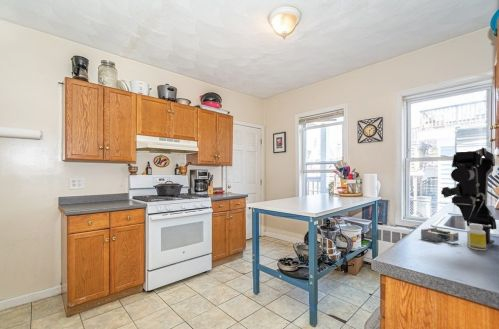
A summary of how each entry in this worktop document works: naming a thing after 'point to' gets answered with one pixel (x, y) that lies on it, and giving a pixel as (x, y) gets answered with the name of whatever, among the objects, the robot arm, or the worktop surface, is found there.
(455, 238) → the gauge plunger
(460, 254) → the worktop surface
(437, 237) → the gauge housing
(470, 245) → the supplement bottle
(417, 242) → the worktop surface
